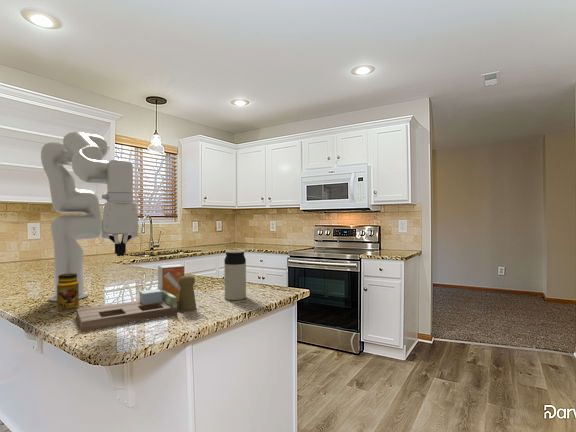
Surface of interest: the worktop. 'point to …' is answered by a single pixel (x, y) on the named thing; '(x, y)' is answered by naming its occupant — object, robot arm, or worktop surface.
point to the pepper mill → (186, 294)
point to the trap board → (126, 312)
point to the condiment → (67, 294)
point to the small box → (170, 278)
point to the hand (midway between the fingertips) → (120, 255)
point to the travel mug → (235, 275)
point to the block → (150, 296)
